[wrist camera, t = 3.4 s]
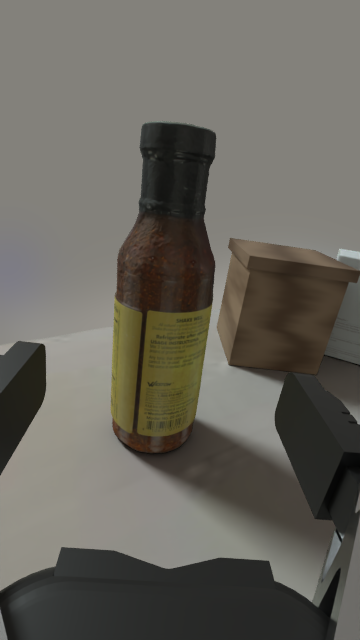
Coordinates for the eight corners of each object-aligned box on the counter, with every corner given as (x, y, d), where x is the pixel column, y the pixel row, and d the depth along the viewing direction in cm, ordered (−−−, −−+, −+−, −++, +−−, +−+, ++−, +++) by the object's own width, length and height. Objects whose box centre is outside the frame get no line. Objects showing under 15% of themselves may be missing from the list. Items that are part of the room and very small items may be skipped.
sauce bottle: (202, 418, 27) (259, 145, 19) (173, 473, 21) (237, 120, 14) (131, 392, 28) (158, 134, 21) (87, 436, 23) (103, 108, 16)
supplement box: (366, 347, 46) (401, 259, 41) (370, 370, 40) (413, 267, 35) (311, 332, 48) (339, 247, 44) (307, 351, 42) (339, 253, 37)
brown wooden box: (289, 335, 46) (314, 250, 42) (323, 377, 36) (361, 271, 31) (212, 325, 45) (230, 237, 41) (224, 366, 35) (249, 255, 31)
